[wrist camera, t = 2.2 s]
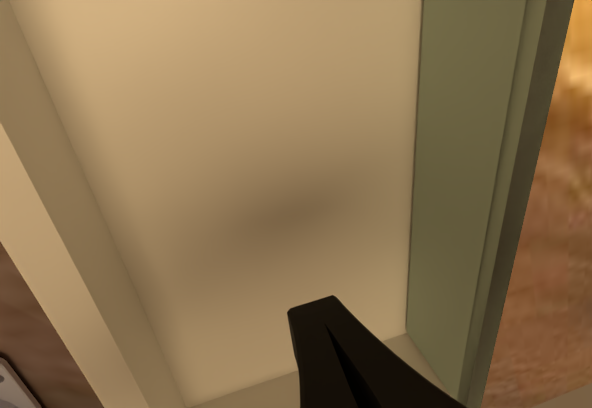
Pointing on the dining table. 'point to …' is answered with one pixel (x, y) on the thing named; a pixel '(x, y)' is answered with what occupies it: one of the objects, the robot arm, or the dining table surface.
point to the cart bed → (208, 184)
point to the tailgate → (475, 172)
